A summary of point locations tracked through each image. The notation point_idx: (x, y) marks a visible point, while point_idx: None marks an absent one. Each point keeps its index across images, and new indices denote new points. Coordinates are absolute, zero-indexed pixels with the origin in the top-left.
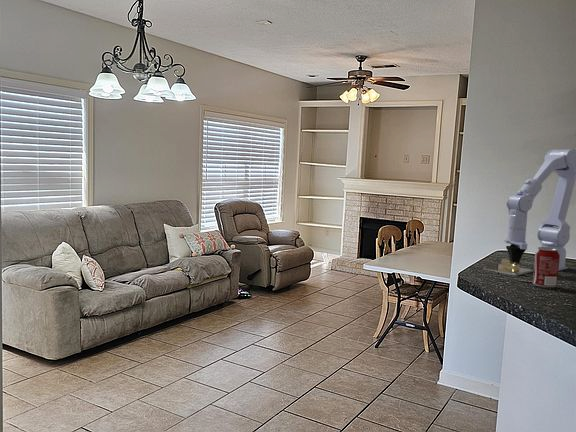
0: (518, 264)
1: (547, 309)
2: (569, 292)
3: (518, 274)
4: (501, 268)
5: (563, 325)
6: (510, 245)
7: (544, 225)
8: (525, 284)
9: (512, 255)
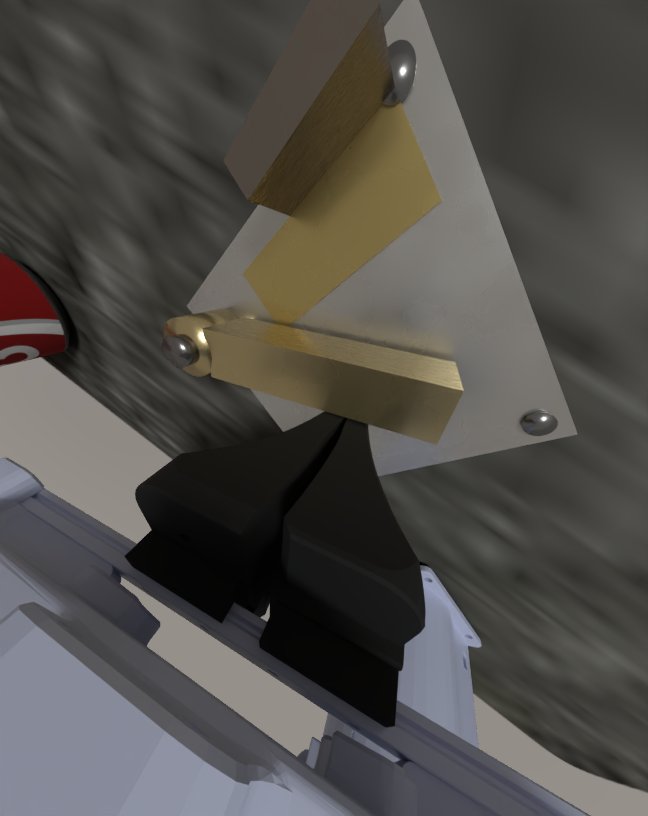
0: (196, 372)
1: None
2: None
3: None
4: (369, 308)
5: None
6: (387, 657)
7: None
8: (19, 224)
9: (273, 438)
